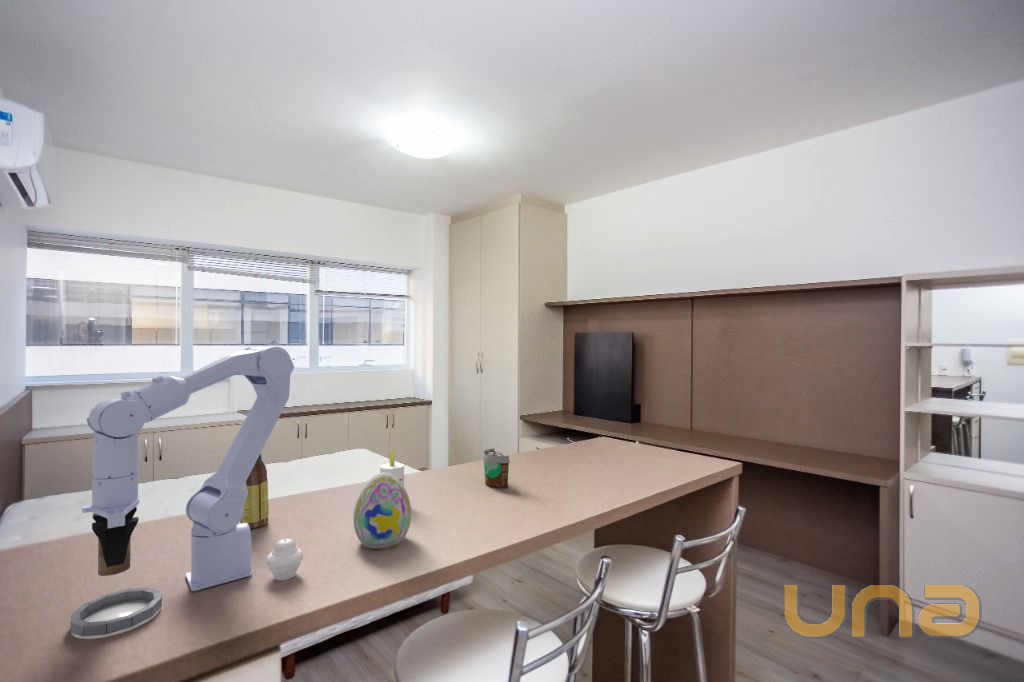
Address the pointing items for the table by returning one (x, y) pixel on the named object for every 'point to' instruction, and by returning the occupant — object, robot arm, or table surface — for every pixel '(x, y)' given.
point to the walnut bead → (112, 570)
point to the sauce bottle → (256, 497)
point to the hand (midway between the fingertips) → (115, 559)
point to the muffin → (284, 559)
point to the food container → (495, 469)
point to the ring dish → (115, 613)
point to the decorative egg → (382, 512)
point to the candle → (393, 468)
